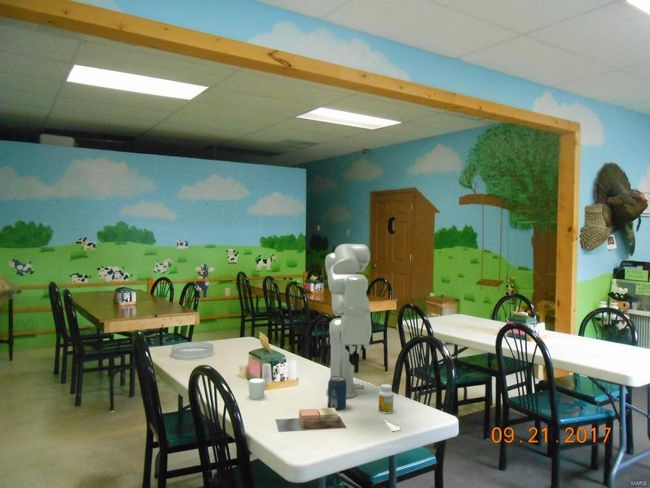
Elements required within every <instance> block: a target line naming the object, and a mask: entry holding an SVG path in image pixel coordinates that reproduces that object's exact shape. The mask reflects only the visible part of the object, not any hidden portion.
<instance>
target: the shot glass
mask: <svg viewBox="0 0 650 488" xmlns="http://www.w3.org/2000/svg"><path fill="white" fill-rule="evenodd" d="M265 388H266V379H264V378H259V377H256V378H254V377H253V378H250V379H249V380H248V392H249V399H250V400H252V401H253V400H254V401H260V400H263V399H264V397H265V391H266V389H265Z"/></svg>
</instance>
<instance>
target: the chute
mask: <svg viewBox="0 0 650 488" xmlns="http://www.w3.org/2000/svg"><path fill="white" fill-rule="evenodd" d="M275 423H276V426H277V431H278V433H286V432H302V431H303V432H304V431H321V430H338V429H347V426H346V425H345V422H344V421H343V420H342V418H341V416H340V415H338V419H322V420H305V427H303V428H302V427H301V425H300V422H299V417H298V418H297V417H293V418H277V419H275Z"/></svg>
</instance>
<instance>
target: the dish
mask: <svg viewBox="0 0 650 488" xmlns="http://www.w3.org/2000/svg"><path fill="white" fill-rule="evenodd" d="M170 352H171V353H170V357H171V358H172V359H173V358H174V360H177V361H197V360H196V359H202V360H205V359H204V358H207V357H210V356H212V355H213V354H215V351H214V344H212V343H210V342H204V341H191V342H190V341H188V342H181V343H176V344H173V345H172V346H171V351H170ZM213 356H214V355H213ZM213 356H212V357H213ZM210 358H211V357H210ZM207 359H208V358H207Z"/></svg>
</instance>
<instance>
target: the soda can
mask: <svg viewBox="0 0 650 488" xmlns="http://www.w3.org/2000/svg"><path fill="white" fill-rule="evenodd" d="M327 384H328V385H327V389H328V395H327V408H335V410H336V411H344V410H345V409H346V408H347V398H346V381H345V378H344V377H340V376H333V377H329V380H328V381H327Z"/></svg>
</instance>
